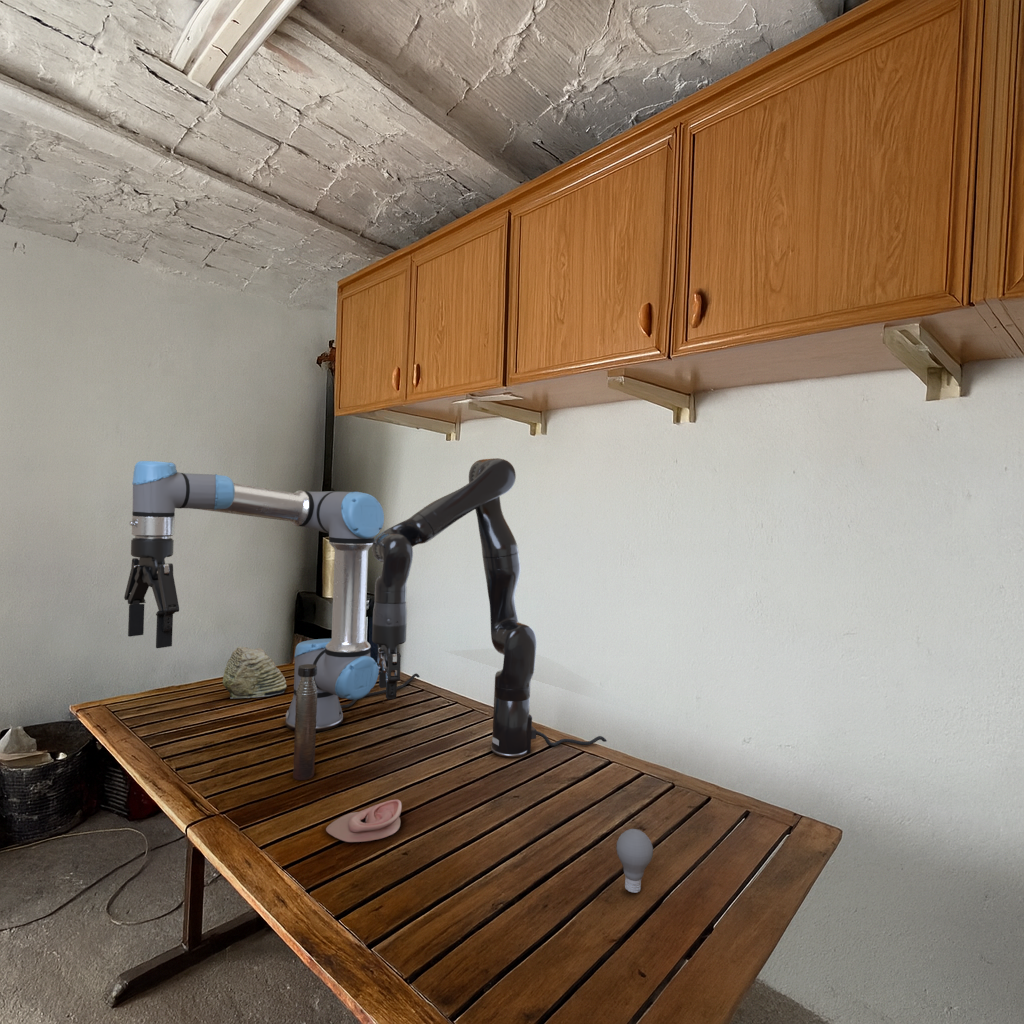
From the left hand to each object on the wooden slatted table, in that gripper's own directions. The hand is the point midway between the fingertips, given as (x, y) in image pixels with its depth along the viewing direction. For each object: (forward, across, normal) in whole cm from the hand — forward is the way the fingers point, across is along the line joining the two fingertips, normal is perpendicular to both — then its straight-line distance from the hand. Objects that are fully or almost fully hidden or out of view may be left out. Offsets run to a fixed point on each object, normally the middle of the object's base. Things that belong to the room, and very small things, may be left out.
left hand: (149, 641), depth 129 cm
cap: (+8, +14, +28) cm, 32 cm away
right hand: (+13, +28, +40) cm, 50 cm away
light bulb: (+32, +90, +41) cm, 104 cm away
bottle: (+32, +14, +28) cm, 45 cm away
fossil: (+32, -47, +50) cm, 76 cm away
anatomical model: (+32, +42, +23) cm, 58 cm away
